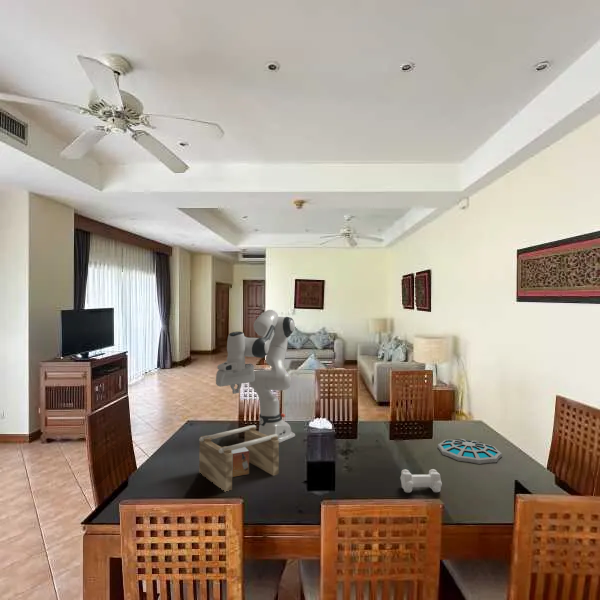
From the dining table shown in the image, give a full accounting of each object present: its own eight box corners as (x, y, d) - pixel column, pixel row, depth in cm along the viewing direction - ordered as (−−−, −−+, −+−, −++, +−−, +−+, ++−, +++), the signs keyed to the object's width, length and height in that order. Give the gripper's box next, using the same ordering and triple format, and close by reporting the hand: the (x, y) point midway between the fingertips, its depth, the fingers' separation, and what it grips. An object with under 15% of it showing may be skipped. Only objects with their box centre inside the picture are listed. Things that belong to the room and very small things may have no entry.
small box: (232, 477, 169) (232, 453, 170) (228, 472, 174) (228, 449, 175) (249, 474, 173) (249, 450, 173) (245, 469, 178) (245, 446, 178)
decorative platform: (459, 466, 182) (459, 456, 182) (427, 445, 211) (427, 436, 211) (515, 461, 189) (515, 451, 189) (476, 441, 217) (476, 432, 217)
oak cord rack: (249, 458, 192) (249, 424, 192) (278, 473, 173) (278, 437, 174) (199, 472, 174) (199, 436, 175) (225, 492, 156) (225, 451, 156)
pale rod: (254, 428, 191) (254, 424, 191) (256, 429, 190) (256, 425, 190) (198, 441, 172) (198, 437, 172) (200, 442, 171) (200, 438, 171)
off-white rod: (276, 437, 178) (276, 433, 178) (278, 438, 176) (278, 434, 176) (217, 453, 158) (217, 448, 158) (220, 454, 157) (220, 449, 157)
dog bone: (435, 487, 162) (434, 467, 163) (443, 495, 153) (442, 473, 154) (400, 487, 162) (399, 467, 163) (406, 495, 153) (405, 474, 154)
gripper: (250, 362, 198) (250, 389, 197) (214, 366, 184) (214, 395, 184) (257, 363, 193) (257, 391, 193) (220, 367, 180) (220, 397, 179)
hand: (235, 393), depth 188 cm, fingers closed
